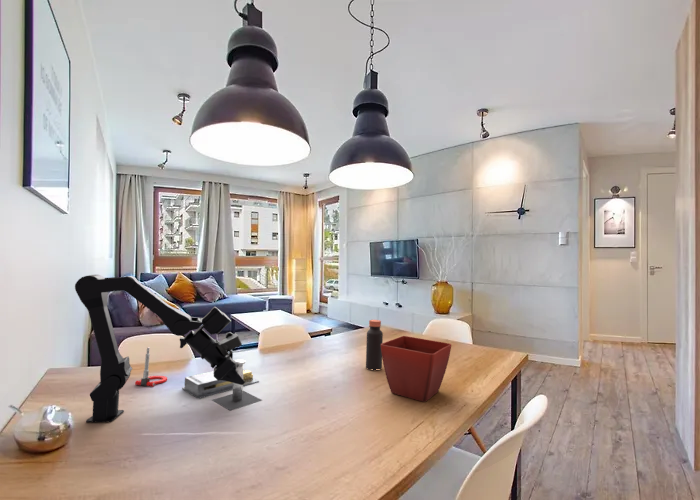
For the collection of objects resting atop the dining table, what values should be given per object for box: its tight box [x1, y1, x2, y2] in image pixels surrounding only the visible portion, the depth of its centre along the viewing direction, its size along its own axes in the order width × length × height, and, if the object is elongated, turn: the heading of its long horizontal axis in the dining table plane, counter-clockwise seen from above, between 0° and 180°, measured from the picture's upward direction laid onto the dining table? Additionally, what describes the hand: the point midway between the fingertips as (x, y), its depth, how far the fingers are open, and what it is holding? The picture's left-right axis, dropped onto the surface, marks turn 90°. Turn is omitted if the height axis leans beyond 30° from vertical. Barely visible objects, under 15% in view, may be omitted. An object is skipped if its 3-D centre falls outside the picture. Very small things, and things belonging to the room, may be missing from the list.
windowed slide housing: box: [181, 369, 260, 400], centre depth 120 cm, size 22×12×4 cm, turn 138°
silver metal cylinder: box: [231, 358, 246, 402], centre depth 108 cm, size 4×4×12 cm
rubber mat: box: [212, 390, 263, 412], centre depth 108 cm, size 11×11×1 cm
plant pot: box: [381, 335, 452, 403], centre depth 120 cm, size 19×19×17 cm
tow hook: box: [134, 347, 168, 388], centre depth 123 cm, size 8×13×9 cm
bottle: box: [365, 319, 384, 371], centre depth 146 cm, size 7×7×20 cm
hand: (242, 378), depth 109 cm, fingers open, 9 cm apart
